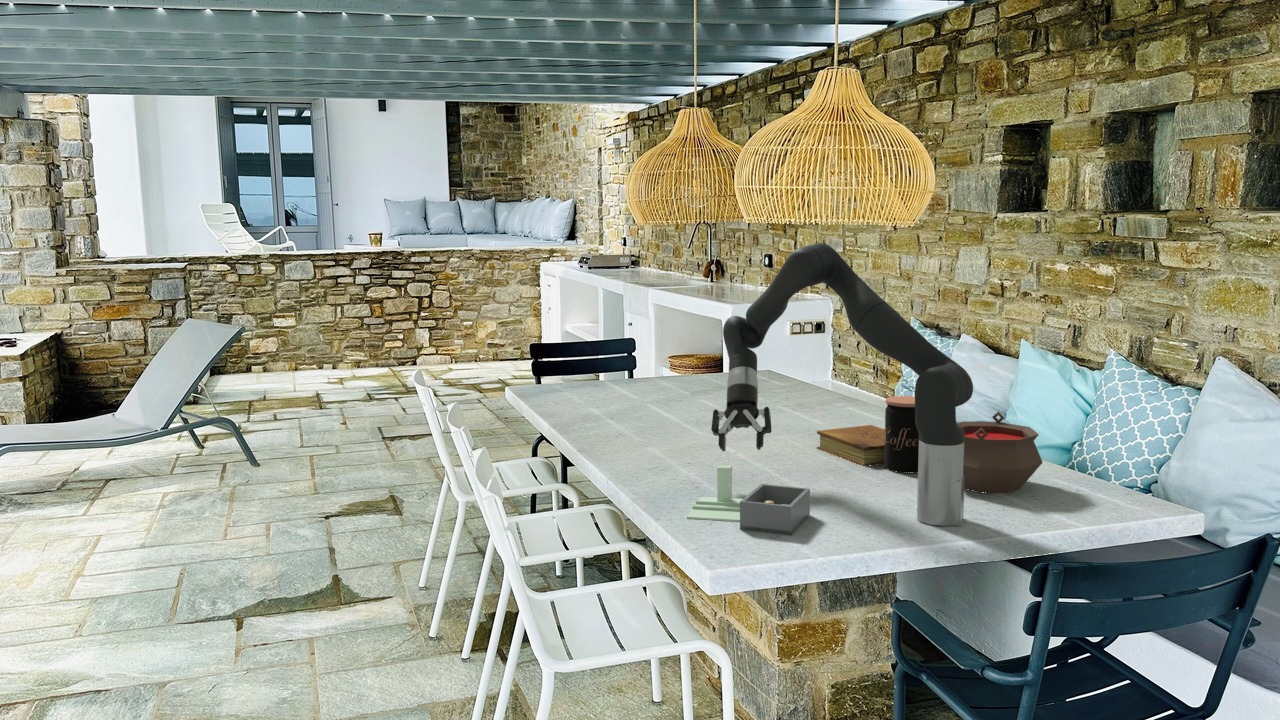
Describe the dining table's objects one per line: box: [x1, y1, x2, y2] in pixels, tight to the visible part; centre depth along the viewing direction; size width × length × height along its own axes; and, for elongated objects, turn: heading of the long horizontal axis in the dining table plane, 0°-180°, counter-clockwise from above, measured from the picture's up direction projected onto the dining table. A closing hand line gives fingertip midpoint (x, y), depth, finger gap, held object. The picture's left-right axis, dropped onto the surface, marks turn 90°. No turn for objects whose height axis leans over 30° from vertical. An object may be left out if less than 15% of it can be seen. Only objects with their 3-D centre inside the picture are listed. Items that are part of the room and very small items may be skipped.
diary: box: [816, 424, 885, 467], centre depth 275 cm, size 23×19×6 cm
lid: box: [686, 464, 744, 523], centre depth 225 cm, size 12×16×9 cm
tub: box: [739, 483, 811, 536], centre depth 215 cm, size 11×15×6 cm
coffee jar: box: [883, 395, 919, 474], centre depth 258 cm, size 11×11×18 cm
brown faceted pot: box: [956, 411, 1043, 494], centre depth 241 cm, size 24×24×16 cm
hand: (740, 449), depth 241 cm, fingers open, 8 cm apart
